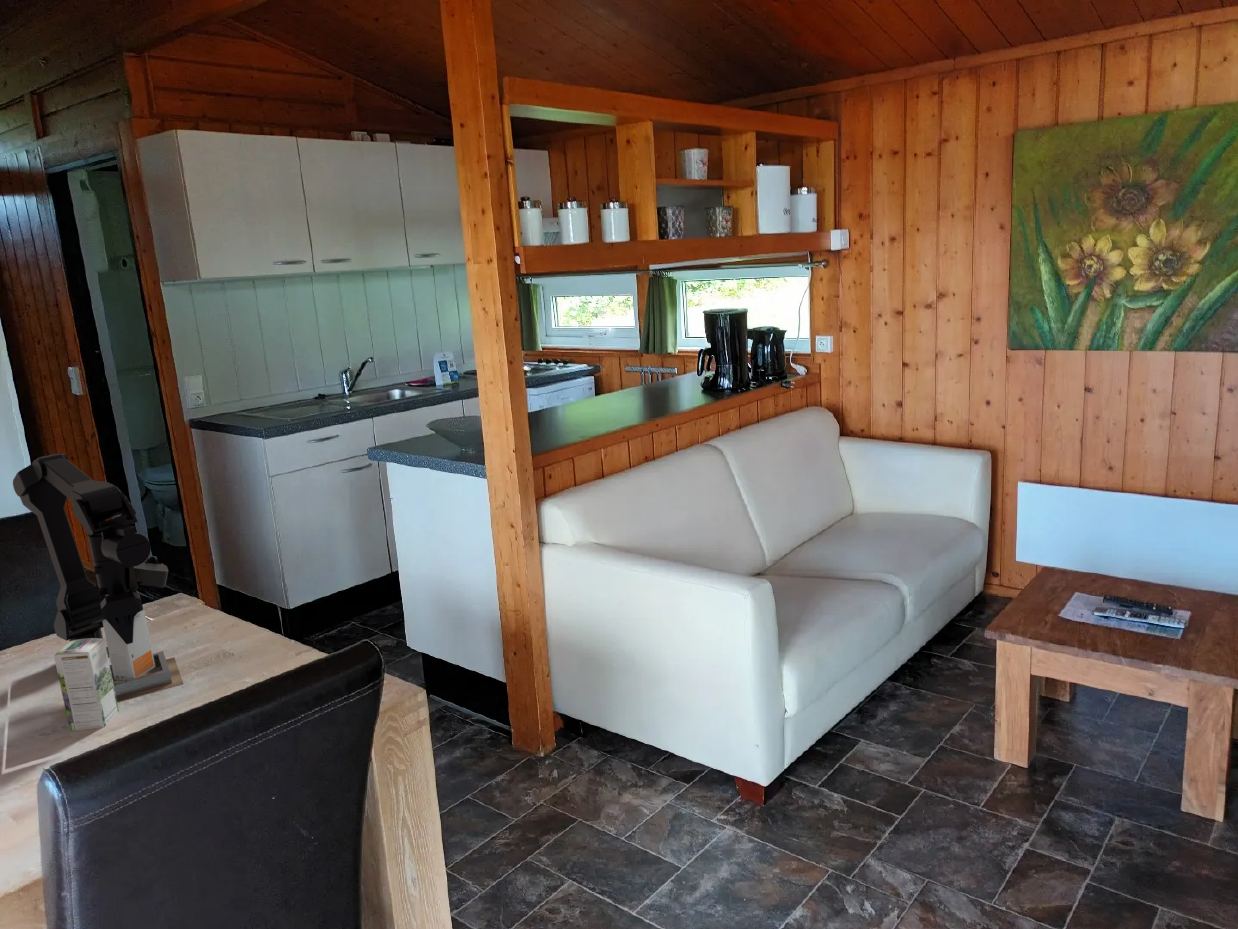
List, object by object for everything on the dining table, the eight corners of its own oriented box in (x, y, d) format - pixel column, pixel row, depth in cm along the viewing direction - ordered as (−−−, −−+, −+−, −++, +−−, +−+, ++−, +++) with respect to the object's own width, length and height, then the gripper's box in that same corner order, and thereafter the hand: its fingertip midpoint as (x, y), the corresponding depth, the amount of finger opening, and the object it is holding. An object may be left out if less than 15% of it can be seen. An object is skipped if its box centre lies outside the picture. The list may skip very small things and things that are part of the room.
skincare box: (134, 682, 167) (121, 621, 164) (114, 681, 168) (100, 620, 165) (157, 667, 173) (144, 607, 170) (137, 666, 173) (124, 607, 170)
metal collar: (104, 679, 172) (101, 667, 172) (165, 663, 177) (163, 651, 177) (107, 701, 163) (104, 688, 163) (172, 683, 169) (169, 670, 168)
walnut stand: (93, 681, 173) (93, 678, 173) (174, 660, 180) (174, 657, 180) (97, 711, 161) (97, 708, 161) (184, 686, 168) (183, 683, 168)
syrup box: (86, 717, 159) (68, 639, 156) (121, 713, 160) (104, 636, 156) (70, 734, 154) (51, 654, 150) (106, 730, 154) (88, 650, 151)
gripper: (166, 559, 161) (182, 641, 164) (154, 533, 176) (170, 609, 180) (93, 575, 155) (112, 659, 159) (88, 547, 171) (106, 625, 175)
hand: (128, 636), depth 168 cm, fingers closed on skincare box, 7 cm apart
